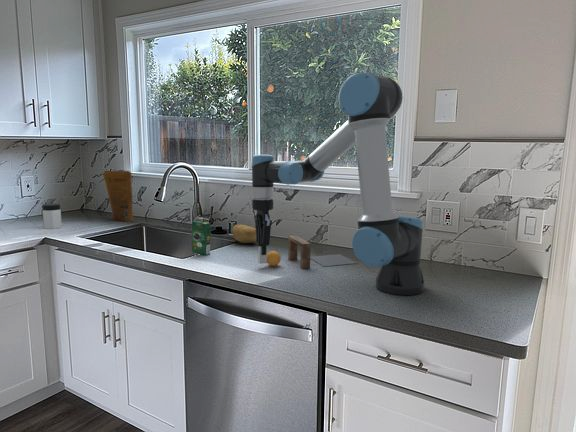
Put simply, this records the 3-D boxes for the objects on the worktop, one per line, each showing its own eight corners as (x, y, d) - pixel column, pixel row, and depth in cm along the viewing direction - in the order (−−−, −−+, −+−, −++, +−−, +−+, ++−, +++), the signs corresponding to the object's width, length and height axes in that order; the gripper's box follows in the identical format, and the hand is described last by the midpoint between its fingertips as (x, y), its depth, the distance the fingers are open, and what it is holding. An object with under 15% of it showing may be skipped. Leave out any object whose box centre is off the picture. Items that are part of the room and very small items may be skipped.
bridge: (295, 258, 175) (295, 235, 174) (310, 268, 162) (310, 243, 160) (288, 258, 174) (288, 235, 172) (302, 269, 161) (302, 244, 159)
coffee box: (211, 254, 180) (210, 222, 178) (206, 255, 177) (205, 223, 175) (196, 251, 184) (196, 220, 182) (191, 252, 182) (191, 221, 179)
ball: (268, 268, 161) (282, 266, 163) (268, 253, 160) (282, 252, 162) (263, 264, 166) (277, 263, 168) (263, 250, 165) (277, 248, 167)
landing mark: (357, 263, 169) (357, 263, 169) (323, 266, 164) (323, 266, 164) (340, 254, 182) (340, 254, 182) (308, 257, 177) (308, 256, 177)
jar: (55, 225, 235) (53, 202, 233) (65, 226, 231) (64, 203, 229) (39, 228, 227) (37, 204, 225) (49, 229, 223) (47, 206, 221)
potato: (248, 247, 192) (248, 229, 191) (227, 242, 201) (226, 224, 200) (264, 243, 199) (264, 226, 198) (242, 238, 208) (242, 222, 207)
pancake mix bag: (129, 222, 244) (126, 171, 240) (104, 219, 253) (101, 170, 248) (138, 220, 250) (136, 170, 246) (113, 218, 259) (111, 169, 254)
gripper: (279, 200, 154) (278, 266, 158) (266, 196, 166) (266, 257, 170) (258, 201, 151) (258, 268, 155) (247, 196, 163) (247, 259, 167)
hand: (262, 262), depth 162 cm, fingers closed
